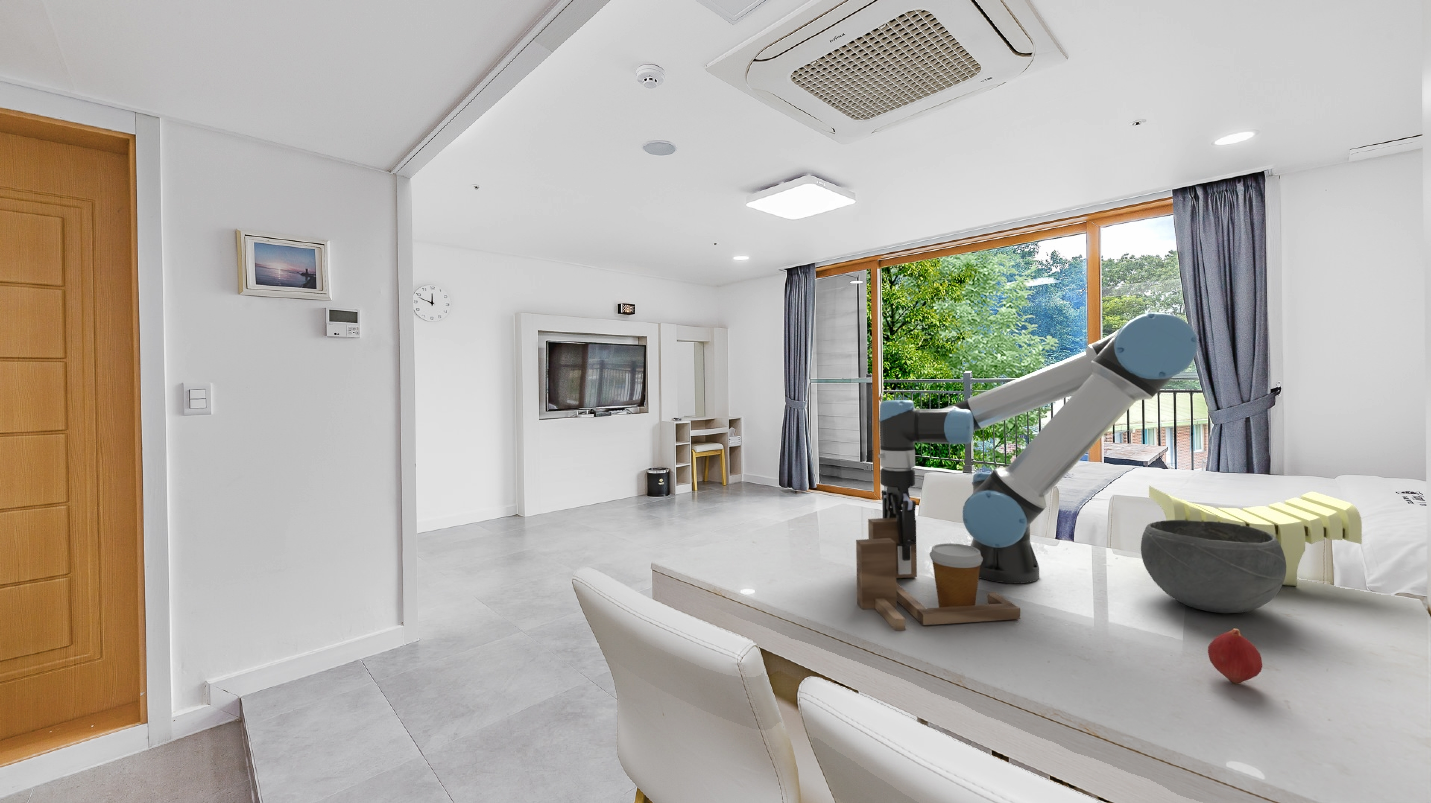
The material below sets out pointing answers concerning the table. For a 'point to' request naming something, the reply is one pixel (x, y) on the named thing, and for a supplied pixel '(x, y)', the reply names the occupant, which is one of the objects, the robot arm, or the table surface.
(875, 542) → the wooden mallet
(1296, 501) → the slatted curved stool
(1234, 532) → the bowl
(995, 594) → the bent wooden rail
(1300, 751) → the table surface
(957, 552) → the disposable coffee cup
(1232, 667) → the onion
